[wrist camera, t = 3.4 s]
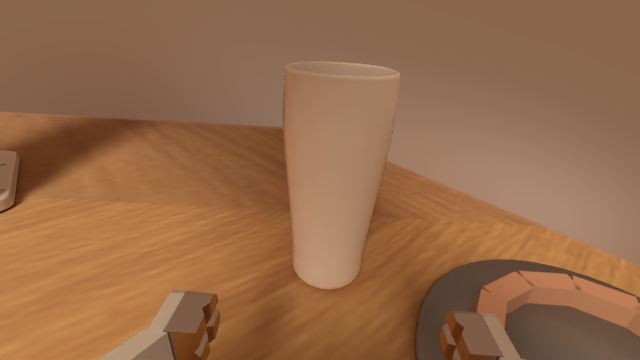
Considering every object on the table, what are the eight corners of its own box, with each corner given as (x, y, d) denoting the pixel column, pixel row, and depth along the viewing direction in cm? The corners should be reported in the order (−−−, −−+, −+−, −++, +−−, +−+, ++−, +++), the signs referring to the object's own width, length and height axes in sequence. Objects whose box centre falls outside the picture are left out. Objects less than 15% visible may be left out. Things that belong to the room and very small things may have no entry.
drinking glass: (339, 233, 28) (356, 61, 22) (387, 282, 23) (429, 75, 16) (270, 254, 25) (265, 60, 19) (307, 316, 20) (319, 78, 13)
